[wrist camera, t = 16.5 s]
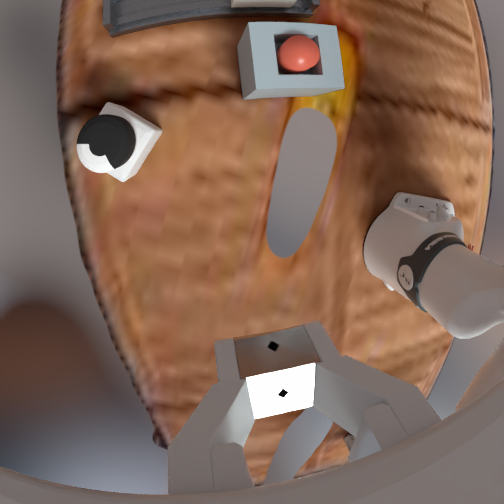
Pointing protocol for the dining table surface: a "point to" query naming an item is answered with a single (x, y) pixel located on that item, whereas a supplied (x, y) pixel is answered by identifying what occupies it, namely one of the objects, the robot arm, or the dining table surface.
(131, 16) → the rail
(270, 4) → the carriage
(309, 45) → the button
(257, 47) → the gauge cabinet
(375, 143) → the dining table surface
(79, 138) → the medicine bottle
